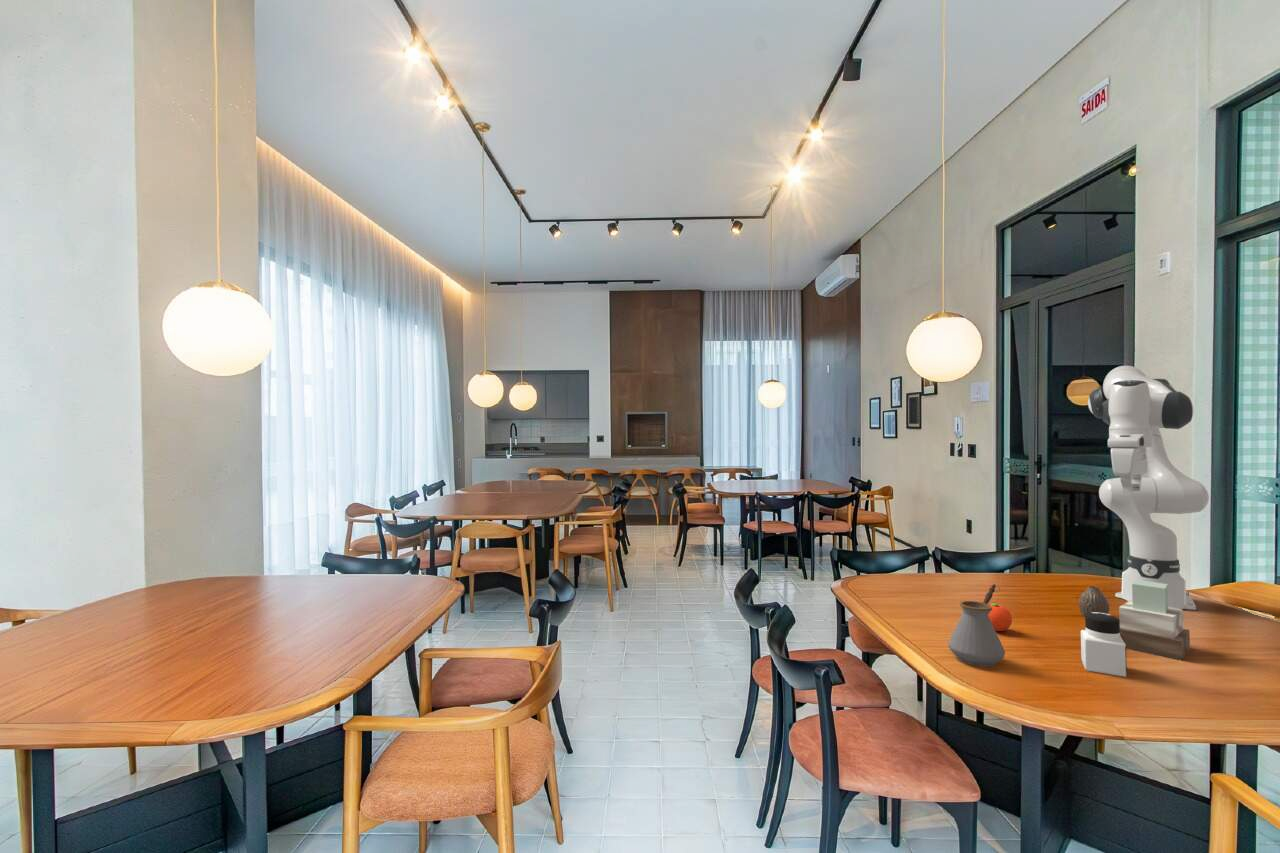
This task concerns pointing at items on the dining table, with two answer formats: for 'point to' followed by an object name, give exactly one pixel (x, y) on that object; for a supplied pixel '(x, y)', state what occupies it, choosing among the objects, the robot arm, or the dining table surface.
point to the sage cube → (1150, 596)
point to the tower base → (1157, 643)
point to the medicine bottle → (1103, 645)
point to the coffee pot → (977, 634)
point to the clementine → (1000, 617)
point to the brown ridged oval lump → (1093, 601)
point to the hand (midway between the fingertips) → (1131, 491)
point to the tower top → (1151, 620)
